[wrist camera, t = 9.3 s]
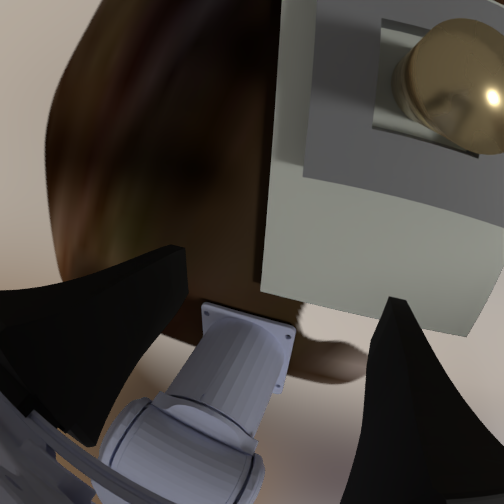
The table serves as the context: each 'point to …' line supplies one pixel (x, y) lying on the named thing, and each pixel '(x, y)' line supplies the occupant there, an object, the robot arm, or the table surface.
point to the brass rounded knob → (456, 84)
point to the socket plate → (362, 220)
